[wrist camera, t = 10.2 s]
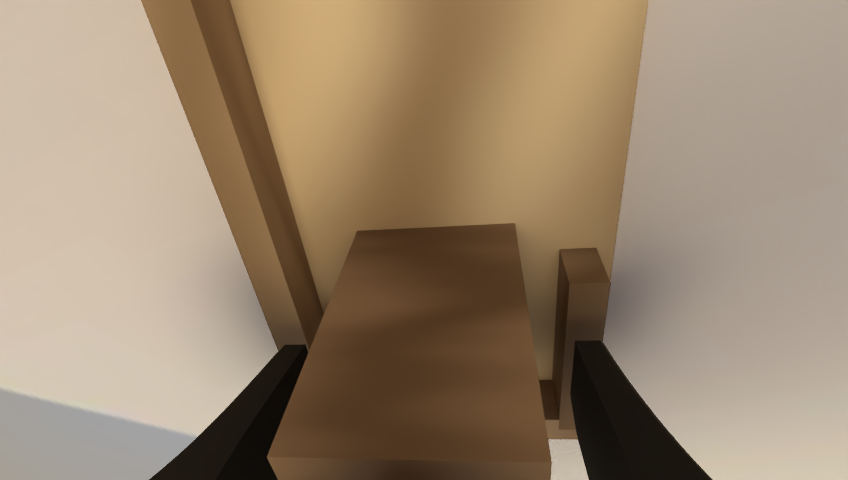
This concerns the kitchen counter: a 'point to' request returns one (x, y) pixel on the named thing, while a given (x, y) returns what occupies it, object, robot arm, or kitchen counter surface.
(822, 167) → the kitchen counter surface
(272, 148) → the cleat board
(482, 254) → the cabinet block
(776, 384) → the kitchen counter surface
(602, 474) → the robot arm
